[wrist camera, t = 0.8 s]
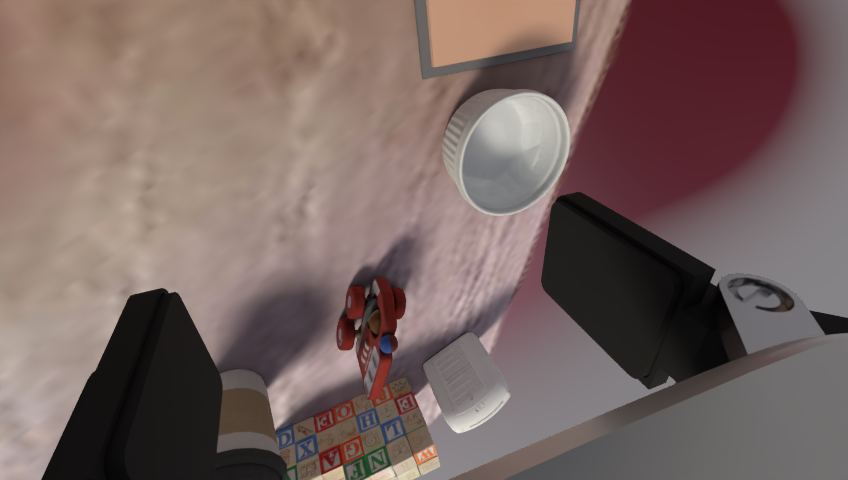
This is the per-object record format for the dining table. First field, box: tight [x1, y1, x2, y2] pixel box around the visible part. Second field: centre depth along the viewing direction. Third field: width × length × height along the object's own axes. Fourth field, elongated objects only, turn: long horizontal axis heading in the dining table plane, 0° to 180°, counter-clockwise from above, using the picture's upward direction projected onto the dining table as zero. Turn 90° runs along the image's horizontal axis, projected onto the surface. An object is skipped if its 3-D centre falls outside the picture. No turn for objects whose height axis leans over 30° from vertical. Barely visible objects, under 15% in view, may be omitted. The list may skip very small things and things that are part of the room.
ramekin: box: [442, 89, 570, 216], centre depth 42 cm, size 13×13×7 cm
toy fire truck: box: [337, 278, 406, 400], centre depth 47 cm, size 7×12×10 cm, turn 161°
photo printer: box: [423, 332, 511, 433], centre depth 57 cm, size 10×4×12 cm, turn 121°
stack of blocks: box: [276, 377, 440, 480], centre depth 56 cm, size 21×6×12 cm, turn 100°
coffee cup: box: [214, 369, 287, 480], centre depth 44 cm, size 11×11×15 cm
